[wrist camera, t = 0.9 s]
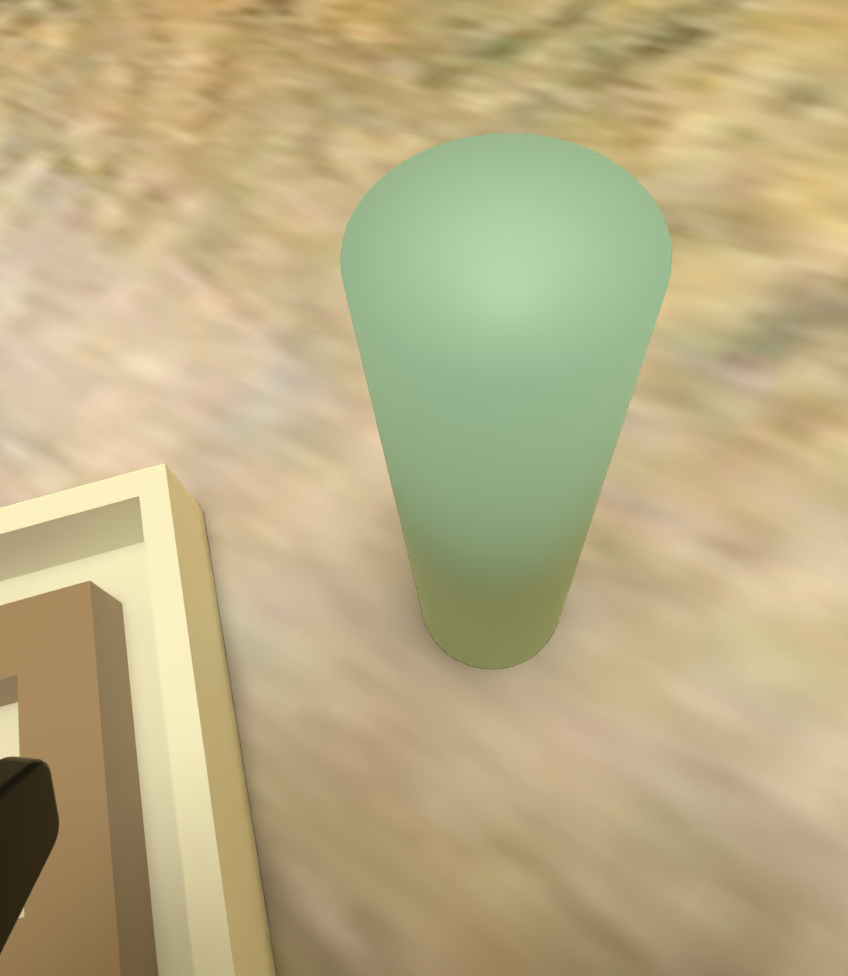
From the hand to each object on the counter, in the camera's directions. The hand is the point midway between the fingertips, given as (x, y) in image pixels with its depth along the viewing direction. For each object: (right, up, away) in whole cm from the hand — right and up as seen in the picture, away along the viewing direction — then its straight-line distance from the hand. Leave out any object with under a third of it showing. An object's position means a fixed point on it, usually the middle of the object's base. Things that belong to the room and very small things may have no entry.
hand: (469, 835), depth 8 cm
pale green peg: (+1, 0, +14) cm, 14 cm away
